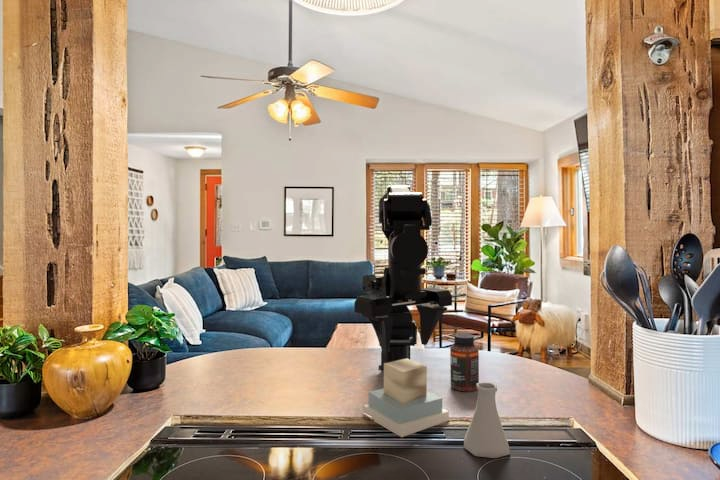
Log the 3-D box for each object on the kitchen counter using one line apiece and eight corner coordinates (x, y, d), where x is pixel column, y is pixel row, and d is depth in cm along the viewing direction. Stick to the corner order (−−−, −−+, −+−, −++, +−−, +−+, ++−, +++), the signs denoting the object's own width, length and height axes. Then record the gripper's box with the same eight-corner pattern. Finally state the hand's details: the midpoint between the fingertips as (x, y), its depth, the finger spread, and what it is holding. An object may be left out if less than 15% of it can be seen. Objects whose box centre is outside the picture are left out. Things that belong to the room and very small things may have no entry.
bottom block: (408, 404, 91) (408, 392, 91) (448, 424, 82) (448, 411, 82) (363, 418, 85) (363, 405, 85) (401, 441, 76) (401, 427, 76)
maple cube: (406, 386, 87) (407, 358, 87) (426, 396, 82) (426, 366, 82) (383, 392, 84) (383, 363, 84) (402, 403, 79) (402, 372, 79)
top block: (409, 394, 90) (409, 382, 90) (442, 411, 82) (442, 398, 81) (368, 405, 85) (368, 391, 85) (399, 424, 77) (399, 409, 77)
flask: (456, 438, 75) (457, 378, 75) (499, 436, 76) (500, 376, 75) (471, 461, 68) (471, 394, 68) (518, 458, 69) (519, 393, 68)
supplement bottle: (481, 385, 100) (481, 333, 99) (475, 394, 94) (476, 340, 94) (453, 381, 102) (454, 330, 102) (447, 390, 97) (447, 337, 96)
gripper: (414, 257, 94) (414, 332, 95) (337, 262, 84) (337, 347, 84) (454, 260, 85) (454, 344, 86) (373, 266, 74) (373, 361, 75)
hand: (405, 348), depth 83 cm, fingers open, 9 cm apart
